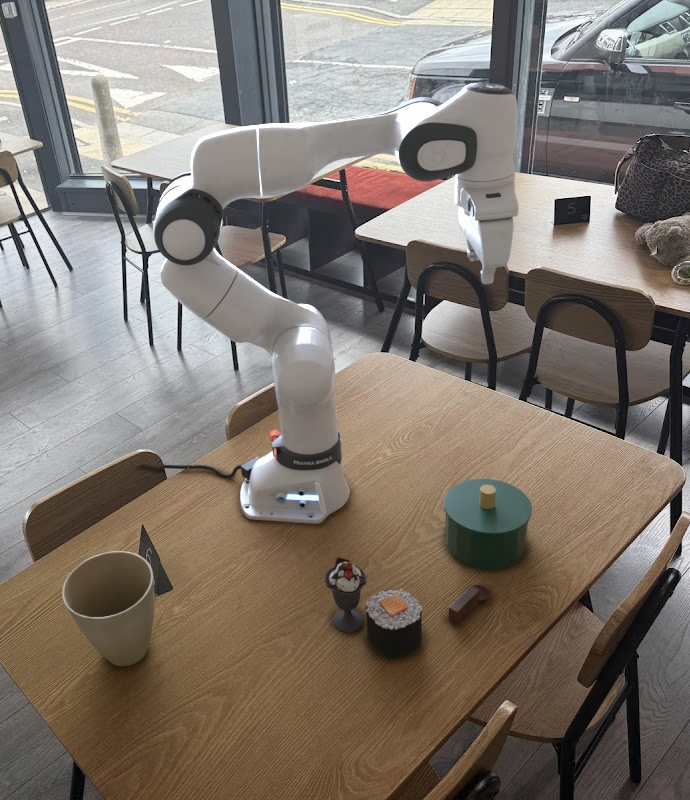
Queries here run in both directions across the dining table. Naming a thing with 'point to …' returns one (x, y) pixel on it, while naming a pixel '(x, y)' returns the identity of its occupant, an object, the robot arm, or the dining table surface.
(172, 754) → the dining table surface
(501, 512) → the lid
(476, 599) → the brown bar with disc
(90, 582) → the plant pot
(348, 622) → the sundae
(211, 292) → the robot arm
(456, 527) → the tin
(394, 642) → the sushi
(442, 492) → the dining table surface
